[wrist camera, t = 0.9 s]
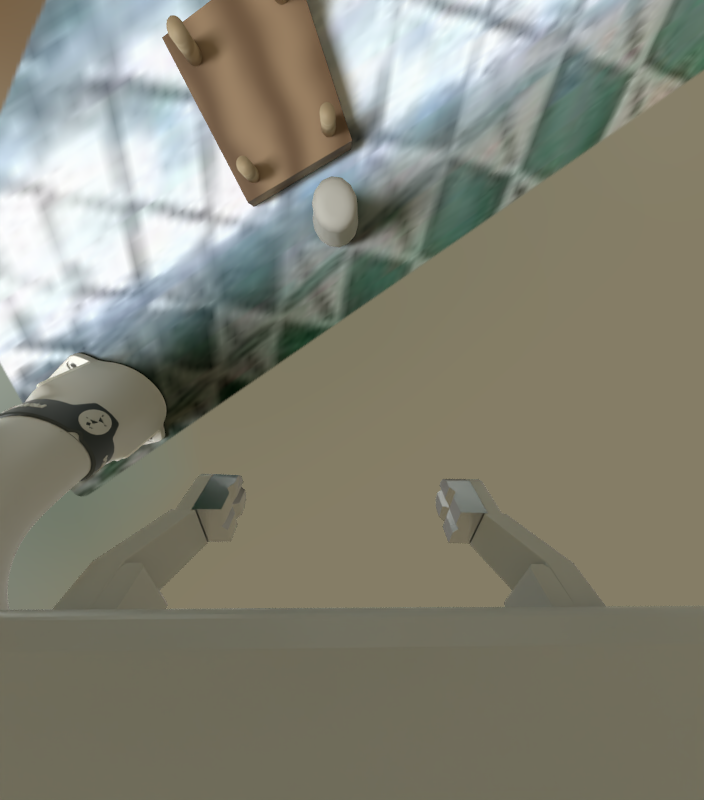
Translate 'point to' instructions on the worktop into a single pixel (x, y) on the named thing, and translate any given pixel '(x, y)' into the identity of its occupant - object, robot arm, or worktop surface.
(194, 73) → the peg stand
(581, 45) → the worktop surface
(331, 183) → the salt shaker
